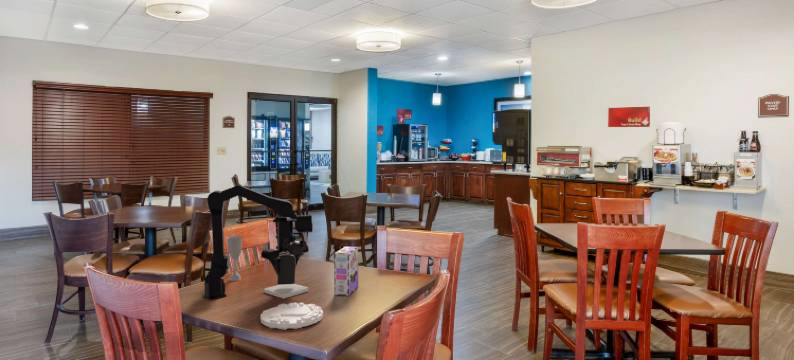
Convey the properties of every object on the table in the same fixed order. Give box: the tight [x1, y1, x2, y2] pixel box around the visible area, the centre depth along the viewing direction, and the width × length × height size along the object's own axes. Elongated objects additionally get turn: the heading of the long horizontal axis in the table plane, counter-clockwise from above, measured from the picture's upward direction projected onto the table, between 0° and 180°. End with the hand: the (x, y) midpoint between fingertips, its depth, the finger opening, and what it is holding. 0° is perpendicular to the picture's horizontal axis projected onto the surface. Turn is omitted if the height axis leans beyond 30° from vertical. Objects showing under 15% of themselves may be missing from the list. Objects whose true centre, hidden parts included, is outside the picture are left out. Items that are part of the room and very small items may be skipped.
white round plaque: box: [260, 302, 324, 330], centre depth 161 cm, size 20×20×3 cm
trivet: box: [263, 283, 309, 299], centre depth 191 cm, size 12×12×2 cm
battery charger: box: [276, 253, 297, 285], centre depth 191 cm, size 7×4×11 cm, turn 102°
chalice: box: [225, 235, 243, 282], centre depth 209 cm, size 7×7×18 cm
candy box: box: [333, 246, 359, 297], centre depth 192 cm, size 14×6×16 cm, turn 168°
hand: (285, 273), depth 191 cm, fingers closed on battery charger, 7 cm apart
